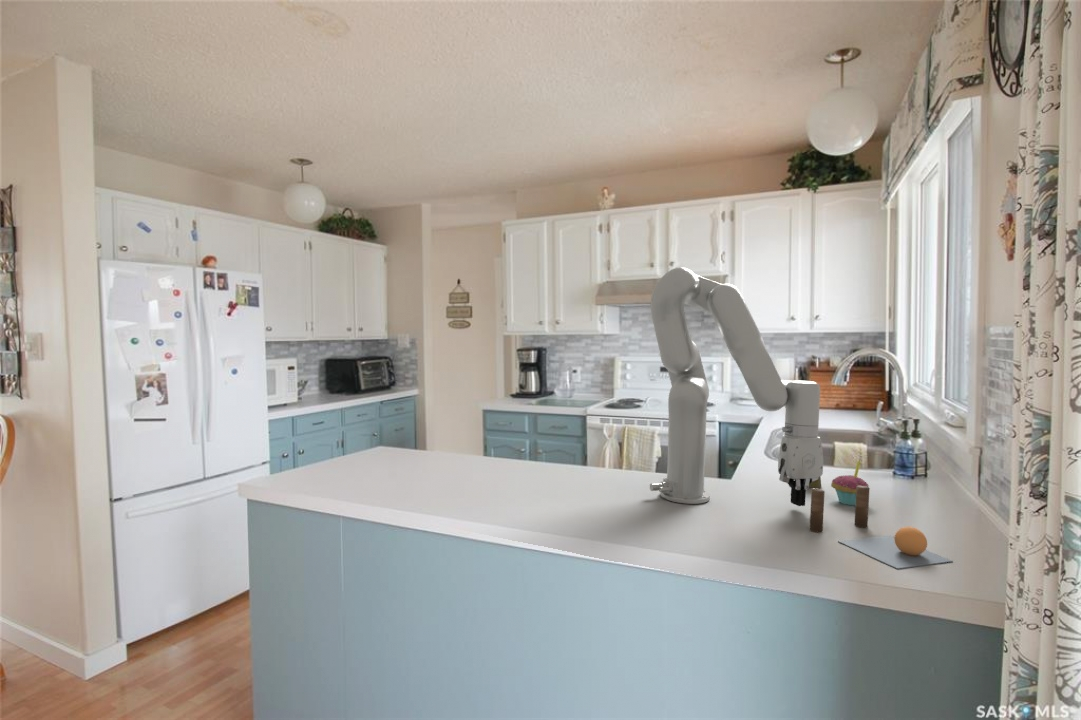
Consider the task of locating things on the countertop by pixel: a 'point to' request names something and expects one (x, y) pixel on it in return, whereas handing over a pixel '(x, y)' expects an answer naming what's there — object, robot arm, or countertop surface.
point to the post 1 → (817, 510)
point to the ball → (910, 541)
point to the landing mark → (892, 552)
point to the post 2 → (862, 506)
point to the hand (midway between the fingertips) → (797, 504)
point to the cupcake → (848, 486)
